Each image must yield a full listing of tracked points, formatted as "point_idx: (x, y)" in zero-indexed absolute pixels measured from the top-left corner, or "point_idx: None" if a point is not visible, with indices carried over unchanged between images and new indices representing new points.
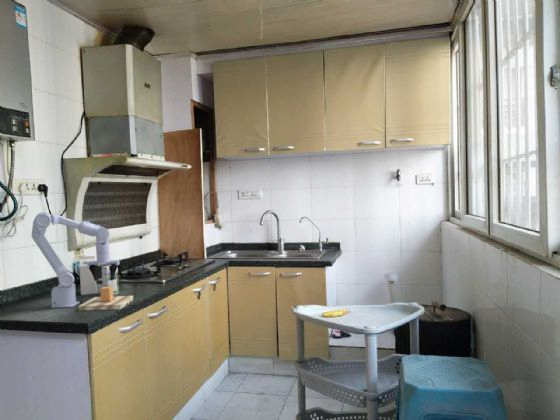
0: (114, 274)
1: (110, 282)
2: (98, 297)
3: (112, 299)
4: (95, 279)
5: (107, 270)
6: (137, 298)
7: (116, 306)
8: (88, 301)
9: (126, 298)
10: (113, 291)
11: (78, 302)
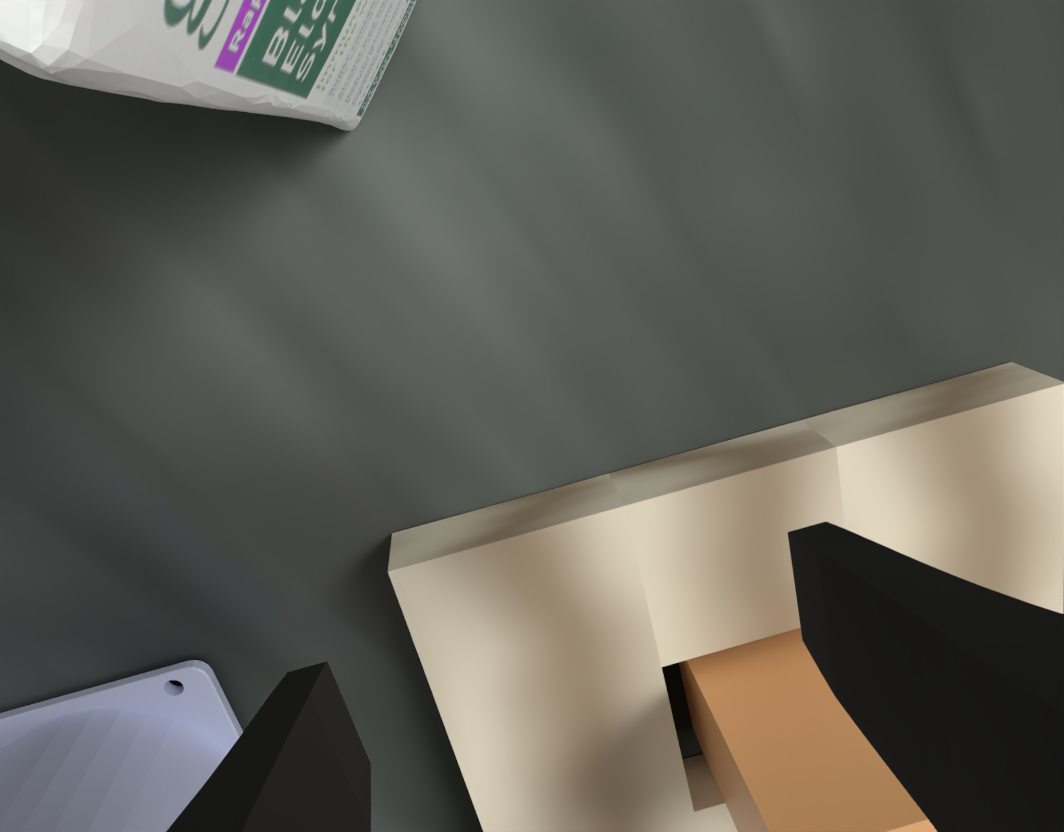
0: (956, 591)
1: (352, 45)
2: (485, 586)
3: None
4: (364, 820)
5: (166, 74)
6: (1051, 262)
7: None
8: (499, 801)
9: (1025, 564)
10: (406, 13)
11: (222, 709)
